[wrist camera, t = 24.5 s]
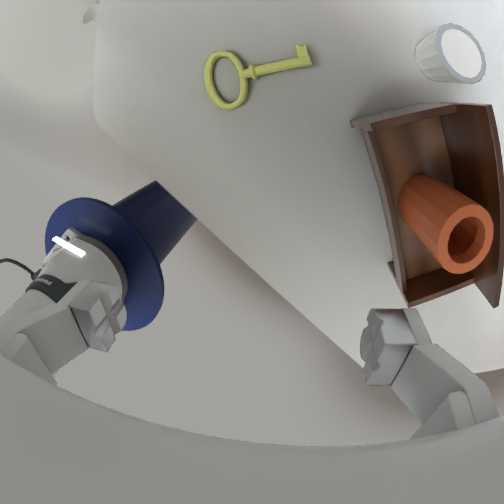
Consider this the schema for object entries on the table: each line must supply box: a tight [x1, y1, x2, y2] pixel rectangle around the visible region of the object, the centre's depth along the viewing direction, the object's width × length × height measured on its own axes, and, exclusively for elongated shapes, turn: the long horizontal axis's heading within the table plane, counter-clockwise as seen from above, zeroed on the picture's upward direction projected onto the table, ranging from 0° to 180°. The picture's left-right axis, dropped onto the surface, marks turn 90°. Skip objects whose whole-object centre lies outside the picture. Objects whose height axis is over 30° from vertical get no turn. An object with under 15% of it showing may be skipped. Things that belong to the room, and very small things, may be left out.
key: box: [204, 44, 312, 110], centre depth 26 cm, size 7×12×2 cm, turn 122°
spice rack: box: [350, 103, 504, 308], centre depth 24 cm, size 10×20×14 cm, turn 23°
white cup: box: [415, 23, 486, 84], centre depth 19 cm, size 7×7×7 cm
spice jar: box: [398, 175, 493, 274], centre depth 22 cm, size 6×6×10 cm
